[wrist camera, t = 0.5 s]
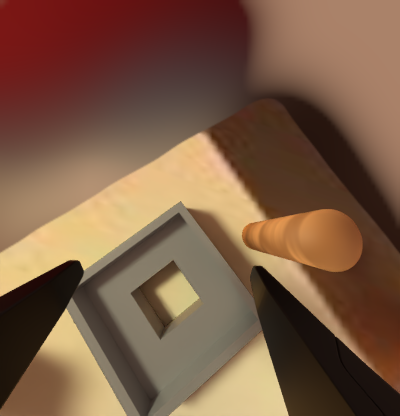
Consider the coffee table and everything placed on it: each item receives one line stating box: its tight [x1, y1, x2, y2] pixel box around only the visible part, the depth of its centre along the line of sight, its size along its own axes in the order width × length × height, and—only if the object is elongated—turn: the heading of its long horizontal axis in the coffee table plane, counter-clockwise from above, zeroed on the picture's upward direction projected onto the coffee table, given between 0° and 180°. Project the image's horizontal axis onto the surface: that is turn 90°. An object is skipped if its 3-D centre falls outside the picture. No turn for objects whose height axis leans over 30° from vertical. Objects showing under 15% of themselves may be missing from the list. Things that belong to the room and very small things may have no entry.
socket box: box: [66, 201, 262, 416], centre depth 19 cm, size 17×17×4 cm
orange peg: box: [242, 209, 363, 272], centre depth 16 cm, size 4×4×13 cm
